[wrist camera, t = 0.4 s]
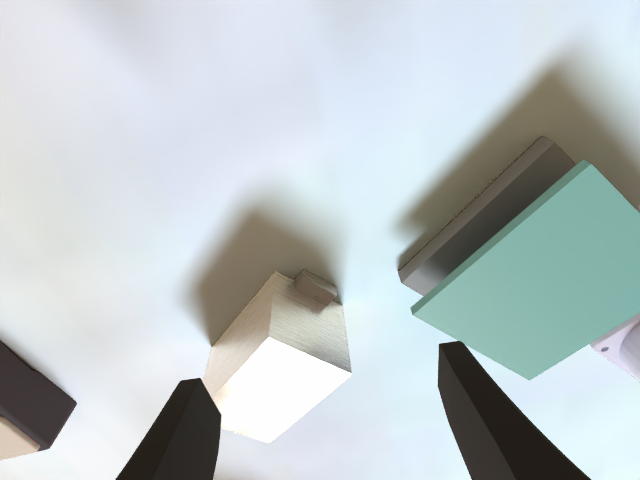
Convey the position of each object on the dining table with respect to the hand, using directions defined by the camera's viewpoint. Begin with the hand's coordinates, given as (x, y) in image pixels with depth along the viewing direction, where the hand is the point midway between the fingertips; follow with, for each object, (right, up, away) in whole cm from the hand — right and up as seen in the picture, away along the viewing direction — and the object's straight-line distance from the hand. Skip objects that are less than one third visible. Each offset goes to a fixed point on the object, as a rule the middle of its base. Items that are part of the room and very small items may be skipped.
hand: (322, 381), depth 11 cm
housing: (-3, -1, +12) cm, 13 cm away
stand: (+11, +3, +10) cm, 16 cm away
